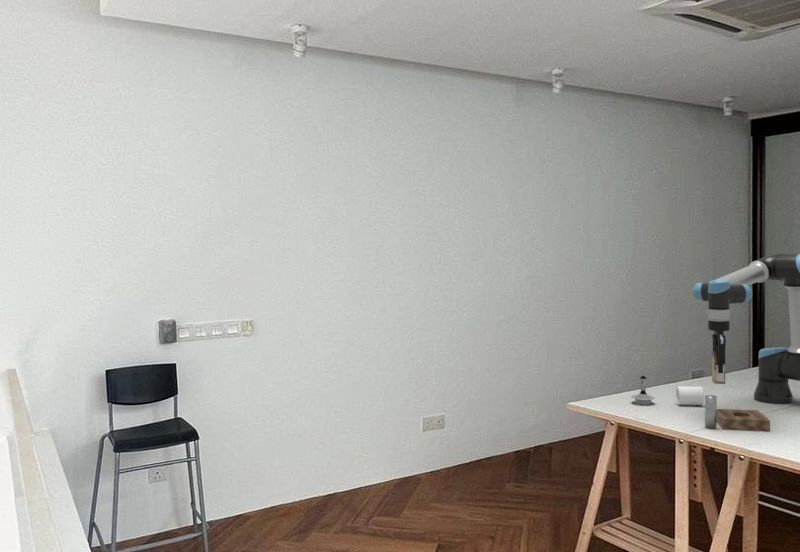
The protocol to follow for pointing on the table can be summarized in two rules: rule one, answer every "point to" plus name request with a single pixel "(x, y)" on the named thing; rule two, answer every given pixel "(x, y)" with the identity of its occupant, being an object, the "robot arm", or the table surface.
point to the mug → (689, 395)
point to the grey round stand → (643, 396)
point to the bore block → (742, 420)
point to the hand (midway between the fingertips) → (718, 379)
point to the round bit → (710, 411)
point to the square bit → (714, 360)
